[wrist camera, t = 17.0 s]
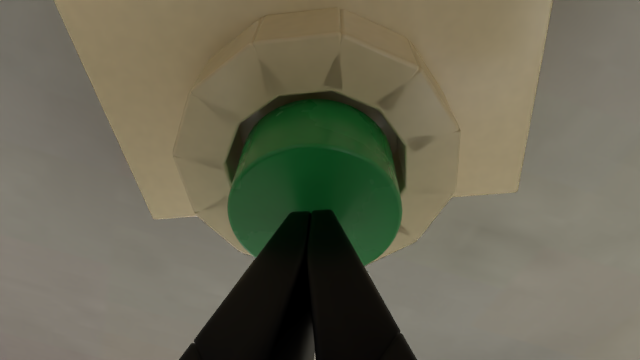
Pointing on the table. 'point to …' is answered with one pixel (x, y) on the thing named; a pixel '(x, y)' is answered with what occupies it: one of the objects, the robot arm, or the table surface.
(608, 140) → the table surface
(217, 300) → the table surface
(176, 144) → the console
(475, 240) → the table surface
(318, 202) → the button
